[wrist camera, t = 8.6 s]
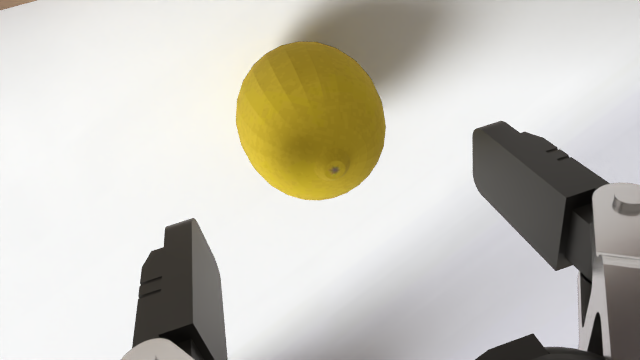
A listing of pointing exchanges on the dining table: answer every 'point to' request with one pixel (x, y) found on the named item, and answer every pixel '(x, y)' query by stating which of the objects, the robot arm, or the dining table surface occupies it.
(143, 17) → the dining table surface
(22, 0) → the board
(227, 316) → the dining table surface
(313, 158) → the lemon
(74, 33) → the dining table surface
